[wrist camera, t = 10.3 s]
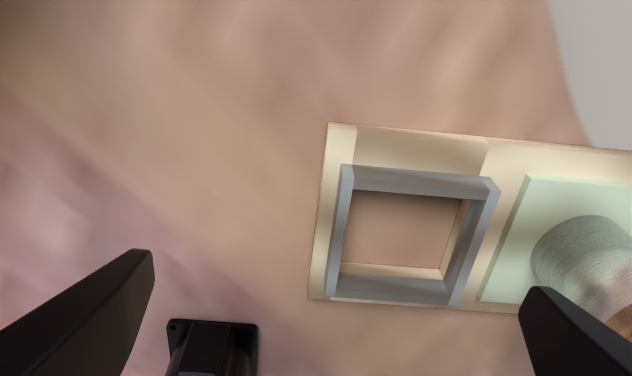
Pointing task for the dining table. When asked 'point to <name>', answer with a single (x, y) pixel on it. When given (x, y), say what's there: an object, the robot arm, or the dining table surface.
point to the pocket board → (460, 211)
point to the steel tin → (590, 268)
